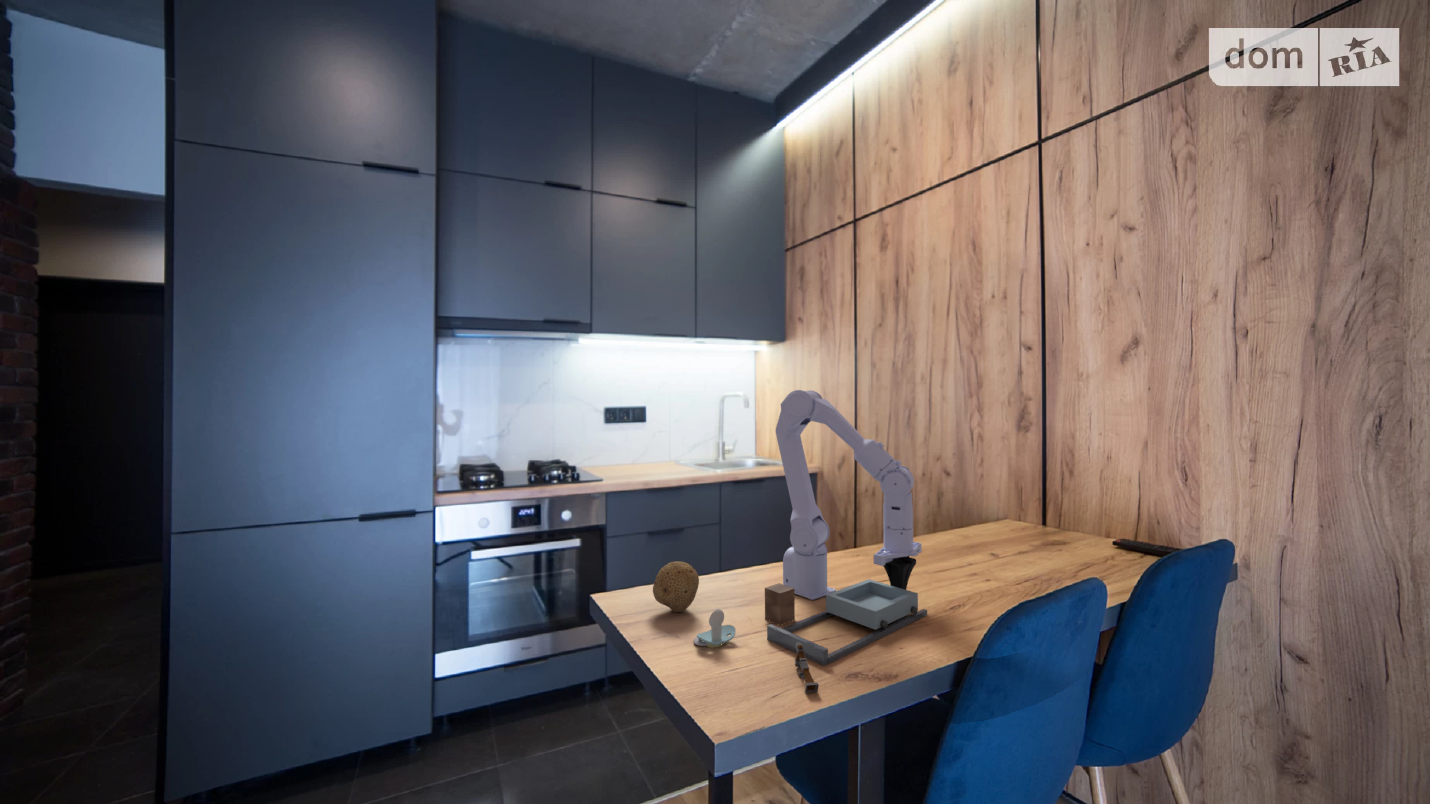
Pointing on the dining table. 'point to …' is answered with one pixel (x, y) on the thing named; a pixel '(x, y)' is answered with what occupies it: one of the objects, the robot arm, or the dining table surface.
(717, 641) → the pacifier
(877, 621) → the cart
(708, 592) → the dining table surface
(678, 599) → the natural sponge
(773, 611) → the walnut block
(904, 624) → the rail
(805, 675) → the wooden post with brackets
